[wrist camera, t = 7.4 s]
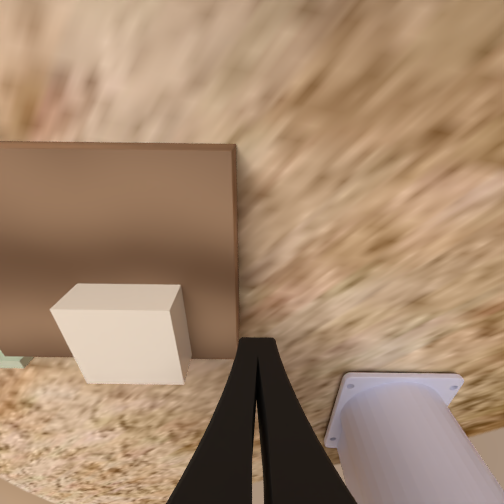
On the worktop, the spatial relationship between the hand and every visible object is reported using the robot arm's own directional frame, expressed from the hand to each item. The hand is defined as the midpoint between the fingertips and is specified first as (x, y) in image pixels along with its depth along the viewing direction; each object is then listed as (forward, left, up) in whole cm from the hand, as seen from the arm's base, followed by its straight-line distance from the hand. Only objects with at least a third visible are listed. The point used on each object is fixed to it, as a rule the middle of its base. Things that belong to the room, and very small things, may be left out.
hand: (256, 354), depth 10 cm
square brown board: (+2, +7, -4) cm, 8 cm away
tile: (0, +5, -2) cm, 6 cm away
